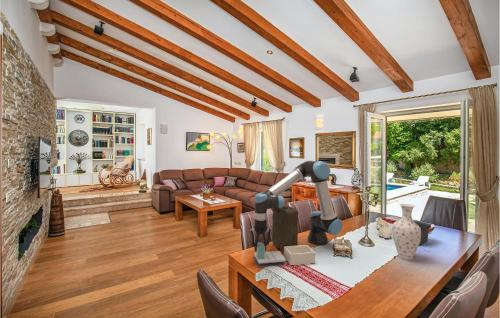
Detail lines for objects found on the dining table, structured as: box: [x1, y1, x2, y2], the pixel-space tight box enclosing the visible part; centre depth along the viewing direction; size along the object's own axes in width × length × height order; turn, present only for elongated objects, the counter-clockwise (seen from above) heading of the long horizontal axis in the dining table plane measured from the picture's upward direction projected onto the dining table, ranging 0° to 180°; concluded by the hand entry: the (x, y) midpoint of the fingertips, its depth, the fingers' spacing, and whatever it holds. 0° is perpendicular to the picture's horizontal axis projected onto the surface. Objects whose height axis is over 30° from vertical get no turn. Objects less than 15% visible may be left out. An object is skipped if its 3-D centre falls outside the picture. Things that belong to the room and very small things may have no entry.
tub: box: [283, 244, 316, 266], centre depth 154 cm, size 16×12×7 cm
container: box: [271, 205, 299, 254], centre depth 173 cm, size 23×10×30 cm, turn 22°
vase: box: [391, 203, 421, 261], centre depth 159 cm, size 16×16×35 cm
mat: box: [252, 256, 286, 269], centre depth 152 cm, size 18×14×1 cm
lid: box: [253, 241, 287, 264], centre depth 152 cm, size 17×13×9 cm
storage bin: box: [413, 220, 433, 246], centre depth 186 cm, size 21×16×14 cm
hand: (260, 256), depth 151 cm, fingers closed on lid, 3 cm apart
